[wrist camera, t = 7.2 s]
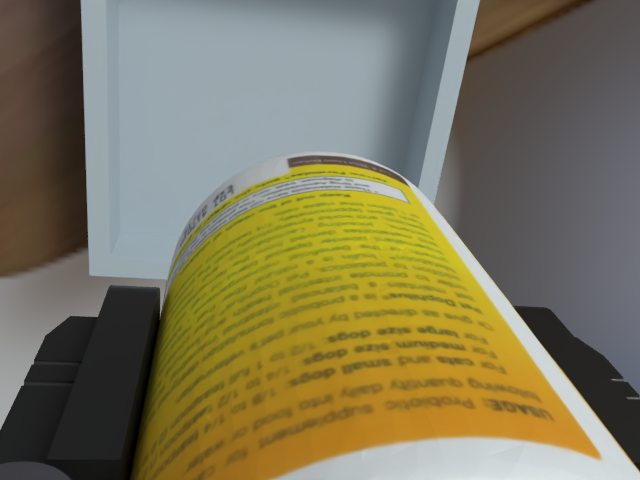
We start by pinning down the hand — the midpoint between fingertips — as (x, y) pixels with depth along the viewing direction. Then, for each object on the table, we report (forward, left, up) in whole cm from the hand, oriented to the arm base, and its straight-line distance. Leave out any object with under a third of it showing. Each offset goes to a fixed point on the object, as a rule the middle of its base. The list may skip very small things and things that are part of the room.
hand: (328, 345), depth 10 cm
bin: (0, 0, -17) cm, 17 cm away
